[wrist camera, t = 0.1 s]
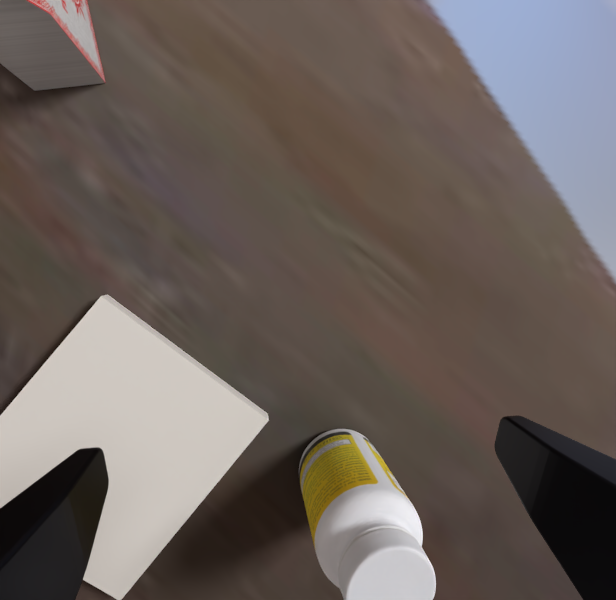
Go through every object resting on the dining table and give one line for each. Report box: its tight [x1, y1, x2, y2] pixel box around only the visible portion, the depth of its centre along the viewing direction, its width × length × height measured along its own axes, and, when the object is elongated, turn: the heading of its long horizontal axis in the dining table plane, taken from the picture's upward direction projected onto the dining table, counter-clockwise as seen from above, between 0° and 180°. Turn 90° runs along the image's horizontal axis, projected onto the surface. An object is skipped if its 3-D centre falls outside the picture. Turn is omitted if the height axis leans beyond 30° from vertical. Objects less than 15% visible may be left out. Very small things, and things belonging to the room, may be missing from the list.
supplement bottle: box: [299, 429, 436, 600], centre depth 20 cm, size 5×5×10 cm
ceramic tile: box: [0, 295, 269, 600], centre depth 22 cm, size 14×12×1 cm
